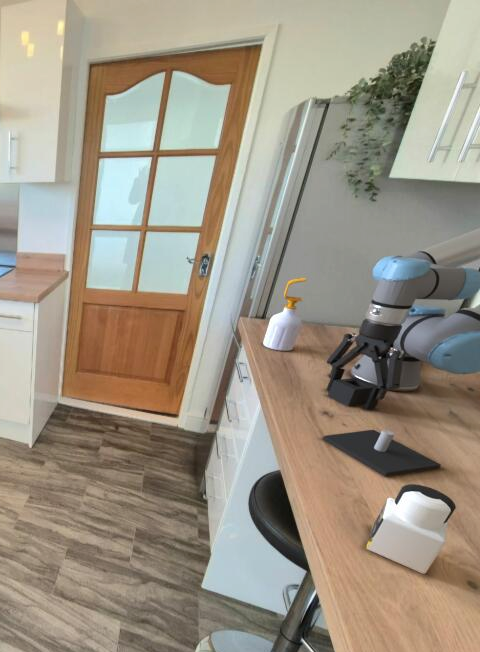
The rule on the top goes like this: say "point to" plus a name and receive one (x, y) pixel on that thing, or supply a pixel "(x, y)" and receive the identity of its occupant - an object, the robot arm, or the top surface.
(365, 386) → the socket block
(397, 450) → the base pad
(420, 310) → the robot arm
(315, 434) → the top surface
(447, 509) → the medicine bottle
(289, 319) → the soap bottle
